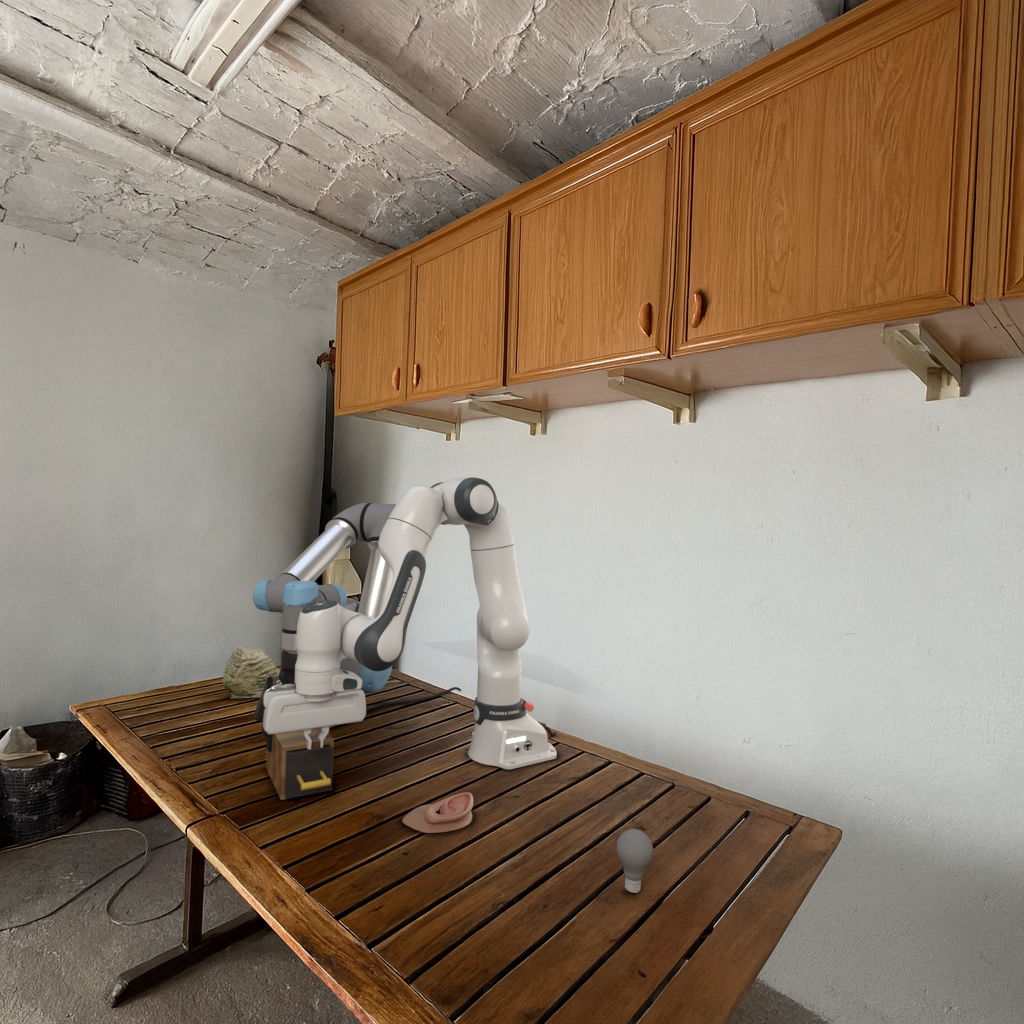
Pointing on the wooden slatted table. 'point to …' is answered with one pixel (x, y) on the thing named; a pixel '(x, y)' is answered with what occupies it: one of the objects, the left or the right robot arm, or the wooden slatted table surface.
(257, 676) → the fossil
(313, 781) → the drawer
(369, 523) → the left robot arm
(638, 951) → the wooden slatted table surface
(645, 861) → the light bulb
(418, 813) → the anatomical model
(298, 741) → the cabinet
